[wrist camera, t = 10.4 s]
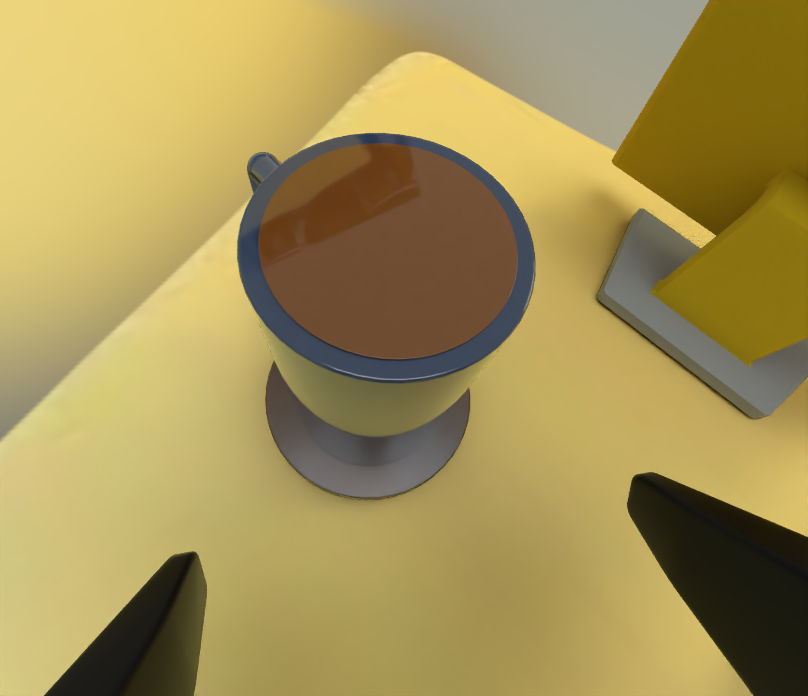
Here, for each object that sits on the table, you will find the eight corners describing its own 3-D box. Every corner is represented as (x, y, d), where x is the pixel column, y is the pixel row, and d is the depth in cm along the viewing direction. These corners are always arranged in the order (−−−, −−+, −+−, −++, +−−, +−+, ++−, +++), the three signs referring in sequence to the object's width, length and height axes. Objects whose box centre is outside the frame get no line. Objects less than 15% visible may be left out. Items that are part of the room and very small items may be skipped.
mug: (472, 400, 22) (595, 262, 11) (360, 500, 20) (373, 453, 8) (344, 263, 24) (339, 36, 13) (230, 338, 22) (107, 135, 11)
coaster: (404, 544, 20) (406, 544, 19) (224, 426, 21) (219, 422, 20) (498, 368, 24) (503, 363, 23) (342, 278, 25) (342, 270, 24)
